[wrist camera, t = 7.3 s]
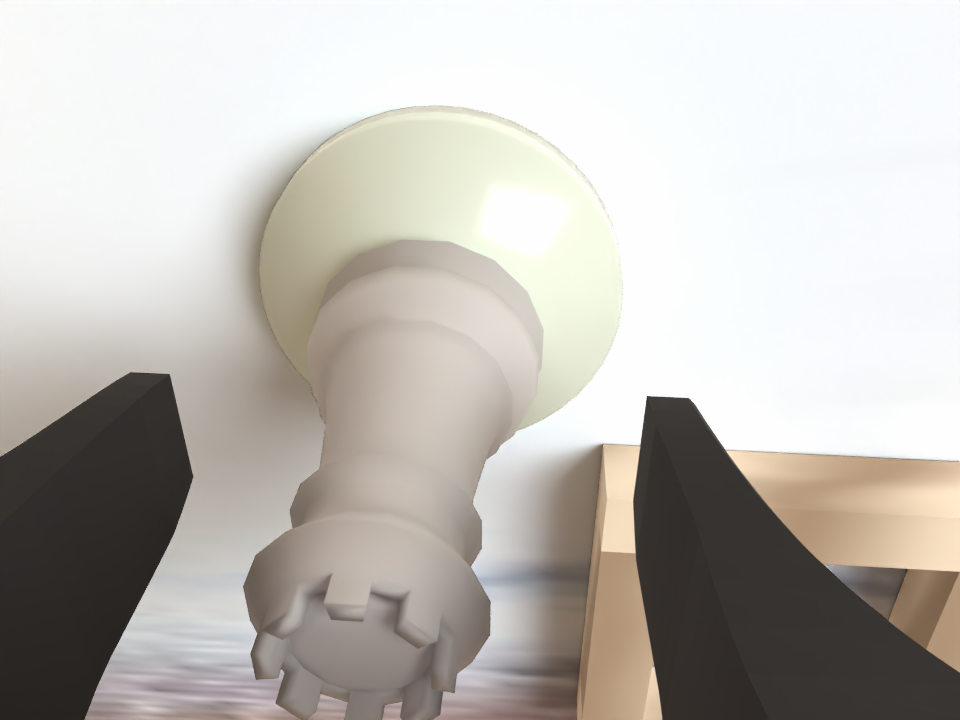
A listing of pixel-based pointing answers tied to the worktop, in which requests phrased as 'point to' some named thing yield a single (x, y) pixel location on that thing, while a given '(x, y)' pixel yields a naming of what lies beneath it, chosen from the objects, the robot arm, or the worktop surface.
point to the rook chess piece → (395, 482)
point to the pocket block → (815, 523)
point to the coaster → (451, 229)
